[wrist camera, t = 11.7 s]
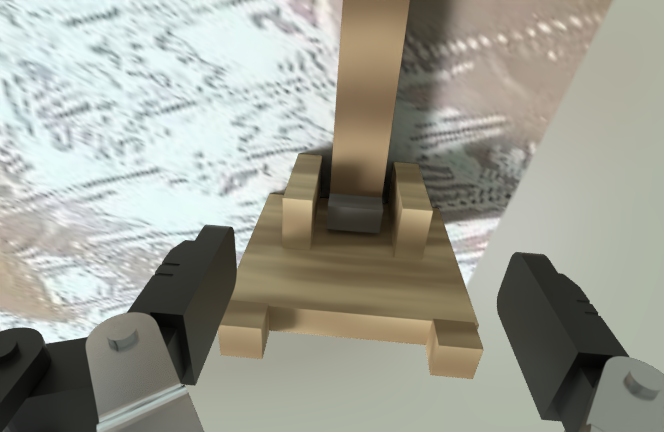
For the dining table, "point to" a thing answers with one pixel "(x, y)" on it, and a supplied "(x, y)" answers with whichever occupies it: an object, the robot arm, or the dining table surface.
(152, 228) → the dining table surface
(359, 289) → the wooden post stand
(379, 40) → the rail
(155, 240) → the dining table surface
